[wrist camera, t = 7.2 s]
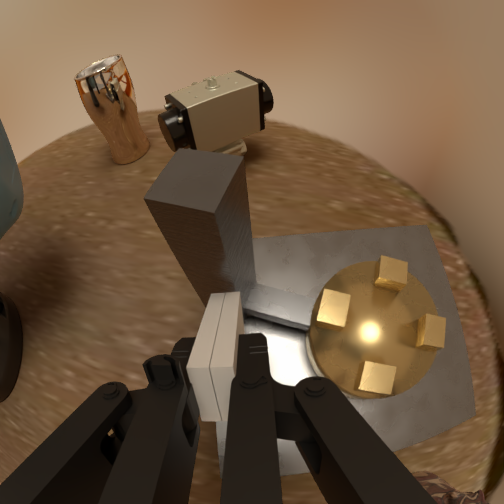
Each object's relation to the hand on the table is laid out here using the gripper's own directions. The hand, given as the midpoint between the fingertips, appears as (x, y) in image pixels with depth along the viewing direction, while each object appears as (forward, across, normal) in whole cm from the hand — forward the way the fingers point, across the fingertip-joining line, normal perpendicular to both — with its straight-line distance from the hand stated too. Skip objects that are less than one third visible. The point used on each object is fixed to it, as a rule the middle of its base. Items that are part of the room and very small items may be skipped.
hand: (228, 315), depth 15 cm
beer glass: (+26, -15, +14) cm, 33 cm away
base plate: (+5, +9, -7) cm, 12 cm away
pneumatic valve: (+22, -1, +10) cm, 24 cm away
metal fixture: (+5, +6, -4) cm, 9 cm away
